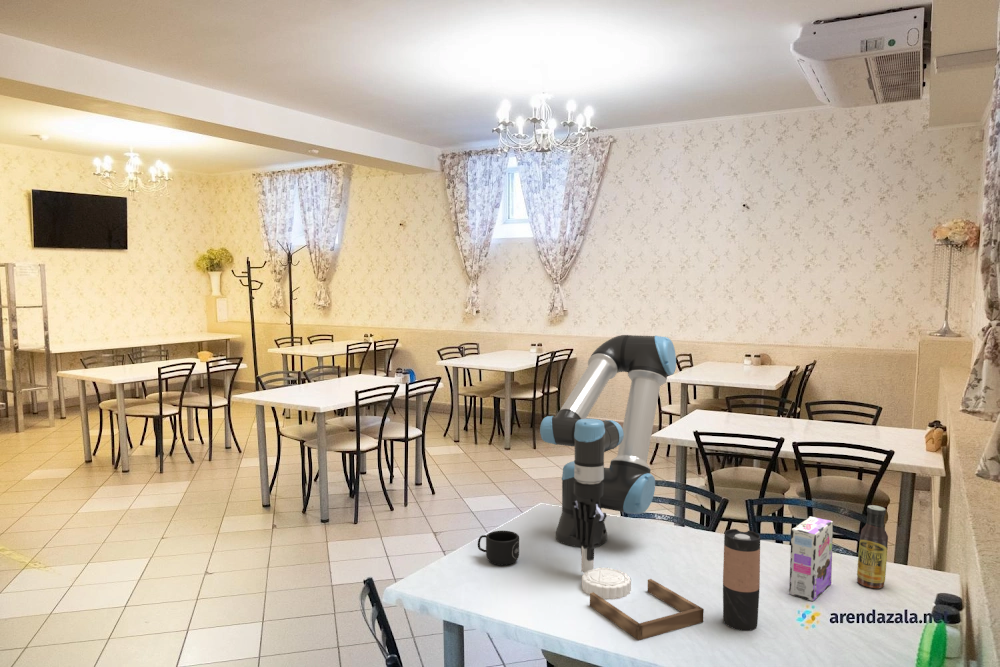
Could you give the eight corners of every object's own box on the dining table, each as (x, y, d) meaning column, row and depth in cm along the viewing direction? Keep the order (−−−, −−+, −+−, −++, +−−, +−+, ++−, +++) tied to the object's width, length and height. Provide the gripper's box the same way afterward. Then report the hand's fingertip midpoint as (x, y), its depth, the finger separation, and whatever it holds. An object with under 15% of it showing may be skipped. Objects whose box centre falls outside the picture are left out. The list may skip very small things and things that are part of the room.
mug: (524, 558, 189) (524, 533, 189) (511, 570, 181) (511, 543, 180) (484, 551, 194) (485, 526, 194) (470, 562, 186) (470, 537, 185)
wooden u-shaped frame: (589, 605, 160) (589, 593, 160) (650, 590, 168) (650, 578, 168) (638, 640, 144) (638, 626, 144) (703, 622, 152) (703, 608, 152)
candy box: (813, 602, 163) (815, 534, 162) (788, 594, 167) (790, 528, 166) (832, 584, 173) (834, 520, 172) (807, 577, 177) (809, 514, 176)
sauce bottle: (853, 584, 172) (856, 507, 171) (860, 577, 177) (863, 501, 176) (882, 592, 168) (885, 512, 167) (889, 584, 172) (892, 507, 171)
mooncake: (631, 602, 163) (631, 587, 163) (580, 598, 165) (580, 583, 165) (630, 581, 175) (630, 567, 174) (583, 577, 177) (583, 564, 177)
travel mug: (739, 634, 147) (741, 542, 146) (714, 618, 154) (716, 531, 153) (766, 627, 150) (768, 537, 149) (741, 612, 157) (743, 526, 156)
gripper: (562, 475, 179) (561, 564, 180) (590, 488, 168) (589, 583, 169) (587, 473, 183) (585, 560, 184) (615, 484, 171) (614, 577, 172)
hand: (587, 571), depth 176 cm, fingers closed
